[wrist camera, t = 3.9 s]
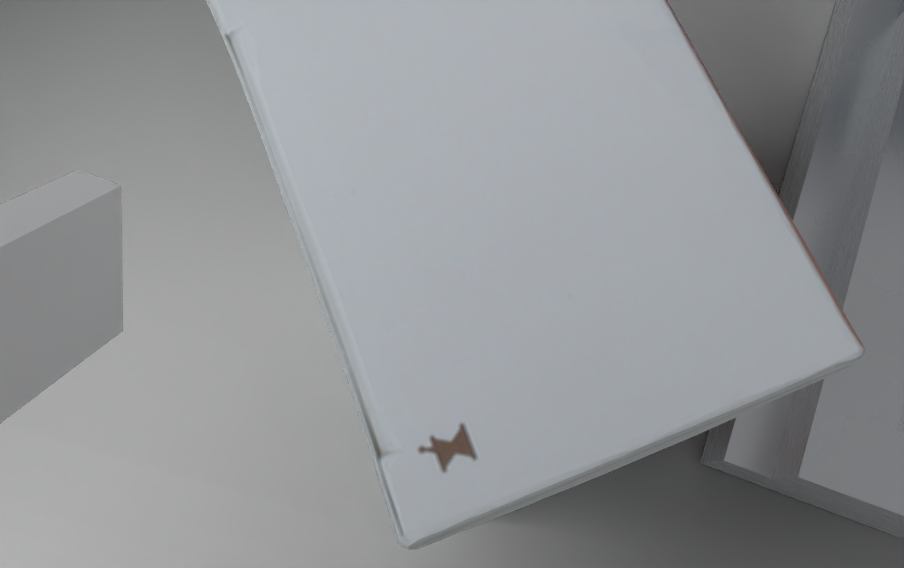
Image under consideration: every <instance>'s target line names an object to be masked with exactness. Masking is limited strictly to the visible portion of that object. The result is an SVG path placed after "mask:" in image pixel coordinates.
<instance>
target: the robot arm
mask: <svg viewBox="0 0 904 568" xmlns="http://www.w3.org/2000/svg"><path fill="white" fill-rule="evenodd" d="M122 331H123V290H122V210H121V185H119V184H116V183H113V182H111V181H108V180H105V179H102V178H100V177H97V176H94V175H92V174H89V173H86V172H83V171H81V170H75V171H73V172H71V173H69V174H66V175H64V176H62V177H60V178H58V179H55V180H53V181H51V182H49V183H47V184H44V185H42V186H40V187H38V188H36V189H33V190H31V191H29V192H27V193H24V194H22V195H20V196H18V197H16V198H13V199H11V200H9V201H7V202H5V203H2V204H0V423H2V422H3V421H4V420H6V419H7V418H8V417H10V416H11V415H12V414H14V413H15V412H16V411H17V410H19V409H20V408H21V407H23V406H24V405H25V404H27V403H28V402H29V401H31V400H32V399H33V398H35V397H36V396H37V395H39V394H40V393H41V392H43V391H44V390H45V389H47V388H48V387H49V386H51V385H52V384H53V383H55V382H56V381H57V380H58V379H60V378H61V377H62V376H64V375H65V374H66V373H68V372H69V371H70V370H72V369H73V368H74V367H76V366H77V365H78V364H80V363H81V362H82V361H84V360H85V359H86V358H88V357H89V356H90V355H92V354H93V353H94V352H96V351H97V350H98V349H100V348H101V347H102V346H103V345H105V344H106V343H107V342H109V341H110V340H111V339H113V338H114V337H115V336H117V335H118V334H119V333H121V332H122Z"/></svg>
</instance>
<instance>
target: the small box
mask: <svg viewBox="0 0 904 568" xmlns="http://www.w3.org/2000/svg"><path fill="white" fill-rule="evenodd" d="M206 2H207V4H208V6H209V8H210V10H211V13H212V15H213V17H214V19H215V21H216V24H217V26H218V29H219V31H220V33H221V36H222V38H223V40H224V43H225V45H226V47H227V50H228V52H229V54H230V57H231V59H232V61H233V64H234V67H235V69H236V72H237V75H238V77H239V80H240V82H241V85H242V88H243V90H244V93H245V96H246V98H247V101H248V104H249V106H250V109H251V111H252V114H253V117H254V119H255V122H256V125H257V127H258V130H259V133H260V136H261V139H262V141H263V144H264V147H265V150H266V153H267V155H268V158H269V161H270V164H271V167H272V170H273V172H274V175H275V178H276V181H277V183H278V186H279V189H280V192H281V194H282V197H283V200H284V203H285V205H286V208H287V211H288V214H289V216H290V219H291V222H292V225H293V227H294V230H295V233H296V236H297V238H298V241H299V244H300V247H301V249H302V252H303V255H304V258H305V261H306V264H307V266H308V269H309V272H310V275H311V278H312V281H313V283H314V286H315V289H316V292H317V295H318V298H319V300H320V303H321V306H322V309H323V312H324V315H325V318H326V320H327V323H328V326H329V329H330V332H331V335H332V337H333V340H334V343H335V346H336V349H337V351H338V354H339V357H340V360H341V363H342V365H343V368H344V371H345V374H346V377H347V380H348V383H349V386H350V389H351V392H352V395H353V398H354V401H355V404H356V407H357V410H358V414H359V417H360V420H361V423H362V427H363V430H364V433H365V436H366V439H367V443H368V446H369V449H370V452H371V455H372V459H373V462H374V465H375V469H376V472H377V475H378V479H379V482H380V485H381V488H382V492H383V495H384V498H385V501H386V505H387V508H388V511H389V514H390V518H391V522H392V526H393V530H394V533H395V536H396V539H397V542H398V544H399V545H400V546H401V547H402V548H405V549H409V550H412V549H418V548H421V547H424V546H427V545H429V544H432V543H434V542H437V541H439V540H441V539H444V538H446V537H449V536H451V535H454V534H456V533H459V532H461V531H464V530H467V529H469V528H472V527H475V526H477V525H480V524H482V523H485V522H488V521H490V520H493V519H495V518H498V517H500V516H503V515H505V514H507V513H510V512H512V511H515V510H517V509H520V508H522V507H525V506H527V505H530V504H532V503H535V502H537V501H540V500H542V499H545V498H547V497H549V496H552V495H554V494H557V493H559V492H562V491H564V490H567V489H569V488H572V487H574V486H577V485H579V484H582V483H584V482H586V481H589V480H591V479H594V478H596V477H599V476H601V475H603V474H606V473H608V472H611V471H613V470H615V469H618V468H620V467H622V466H625V465H627V464H630V463H632V462H634V461H637V460H639V459H641V458H644V457H646V456H648V455H651V454H653V453H656V452H658V451H660V450H663V449H665V448H667V447H670V446H672V445H675V444H677V443H679V442H682V441H684V440H686V439H689V438H691V437H693V436H696V435H698V434H700V433H702V432H705V431H707V430H709V429H711V428H714V427H716V426H718V425H720V424H723V423H725V422H727V421H729V420H731V419H734V418H736V417H738V416H740V415H743V414H745V413H747V412H749V411H752V410H754V409H756V408H758V407H761V406H763V405H765V404H767V403H770V402H772V401H774V400H776V399H779V398H781V397H783V396H785V395H788V394H790V393H792V392H794V391H797V390H799V389H801V388H803V387H805V386H808V385H810V384H812V383H815V382H817V381H819V380H822V379H824V378H826V377H829V376H831V375H833V374H836V373H838V372H840V371H842V370H844V369H846V368H848V367H850V366H851V365H853V364H854V363H856V362H857V361H858V360H859V359H861V358H862V356H863V355H864V354H865V347H864V346H863V344H862V342H861V341H860V339H859V337H858V336H857V334H856V332H855V331H854V329H853V327H852V326H851V324H850V322H849V321H848V319H847V317H846V315H845V314H844V312H843V310H842V308H841V306H840V305H839V303H838V301H837V299H836V297H835V296H834V294H833V292H832V290H831V288H830V286H829V285H828V283H827V281H826V279H825V277H824V276H823V274H822V272H821V270H820V268H819V267H818V265H817V263H816V261H815V259H814V258H813V256H812V254H811V252H810V251H809V249H808V247H807V245H806V244H805V242H804V240H803V238H802V237H801V235H800V233H799V231H798V230H797V228H796V226H795V224H794V223H793V221H792V219H791V217H790V216H789V214H788V212H787V210H786V209H785V207H784V205H783V203H782V202H781V200H780V198H779V196H778V195H777V193H776V191H775V189H774V188H773V186H772V184H771V182H770V181H769V179H768V177H767V175H766V174H765V172H764V170H763V168H762V166H761V165H760V163H759V161H758V159H757V158H756V156H755V154H754V152H753V151H752V149H751V147H750V145H749V144H748V142H747V140H746V138H745V137H744V135H743V133H742V132H741V130H740V128H739V126H738V125H737V123H736V121H735V120H734V118H733V116H732V115H731V113H730V111H729V110H728V108H727V106H726V104H725V103H724V101H723V99H722V97H721V95H720V93H719V92H718V90H717V88H716V86H715V84H714V82H713V81H712V79H711V77H710V75H709V73H708V72H707V70H706V68H705V66H704V65H703V63H702V61H701V60H700V58H699V56H698V54H697V53H696V51H695V49H694V47H693V45H692V43H691V41H690V40H689V38H688V36H687V34H686V33H685V31H684V29H683V28H682V26H681V24H680V23H679V21H678V19H677V17H676V16H675V14H674V12H673V10H672V8H671V7H670V5H669V3H668V1H667V0H206Z"/></svg>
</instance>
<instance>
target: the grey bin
mask: <svg viewBox="0 0 904 568" xmlns="http://www.w3.org/2000/svg"><path fill="white" fill-rule="evenodd" d="M779 198H780V200H781V202H782V203H783V205H784V207H785V209H786V210H787V212H788V214H789V216H790V217H791V219H792V221H793V223H794V224H795V226H796V228H797V230H798V231H799V233H800V235H801V237H802V238H803V240H804V242H805V244H806V245H807V247H808V249H809V251H810V252H811V254H812V256H813V258H814V259H815V261H816V263H817V265H818V267H819V268H820V270H821V272H822V274H823V276H824V277H825V279H826V281H827V283H828V285H829V286H830V288H831V290H832V292H833V294H834V296H835V297H836V299H837V301H838V303H839V305H840V306H841V308H842V310H843V312H844V314H845V315H846V317H847V319H848V321H849V322H850V324H851V326H852V327H853V329H854V331H855V332H856V334H857V336H858V337H859V339H860V341H861V342H862V344H863V346H864V347H865V354H864V355H863V356H862V358H861V359H859V360H858V361H857V362H856V363H854V364H853V365H851V366H850V367H848V368H846V369H844V370H842V371H840V372H838V373H836V374H833V375H831V376H829V377H826V378H824V379H822V380H819V381H817V382H815V383H812V384H810V385H808V386H805V387H803V388H801V389H799V390H797V391H794V392H792V393H790V394H788V395H785V396H783V397H781V398H779V399H776V400H774V401H772V402H770V403H767V404H765V405H763V406H761V407H758V408H756V409H754V410H752V411H749V412H747V413H745V414H743V415H740V416H738V417H736V418H734V419H731V420H729V421H727V422H725V423H723V424H720V425H718V426H716V427H714V428H711V429H710V430H709V433H708V436H707V440H706V443H705V447H704V450H703V453H702V457H701V460H700V463H701V464H703V465H706V466H709V467H711V468H714V469H717V470H719V471H722V472H725V473H727V474H730V475H733V476H736V477H738V478H741V479H744V480H746V481H749V482H752V483H754V484H757V485H760V486H762V487H765V488H768V489H770V490H773V491H776V492H779V493H781V494H784V495H787V496H789V497H792V498H795V499H797V500H800V501H803V502H805V503H808V504H811V505H813V506H816V507H819V508H822V509H824V510H827V511H830V512H832V513H835V514H838V515H840V516H843V517H846V518H848V519H851V520H854V521H856V522H859V523H862V524H864V525H867V526H870V527H873V528H875V529H878V530H881V531H883V532H886V533H889V534H891V535H894V536H897V537H899V538H902V539H904V0H837V1H836V4H835V8H834V11H833V14H832V18H831V21H830V25H829V28H828V31H827V35H826V38H825V41H824V45H823V48H822V52H821V55H820V58H819V62H818V65H817V68H816V72H815V75H814V79H813V82H812V85H811V89H810V92H809V95H808V99H807V102H806V106H805V109H804V112H803V116H802V119H801V122H800V126H799V129H798V133H797V136H796V139H795V143H794V146H793V150H792V153H791V156H790V160H789V163H788V166H787V170H786V173H785V177H784V180H783V183H782V187H781V190H780V193H779Z"/></svg>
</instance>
